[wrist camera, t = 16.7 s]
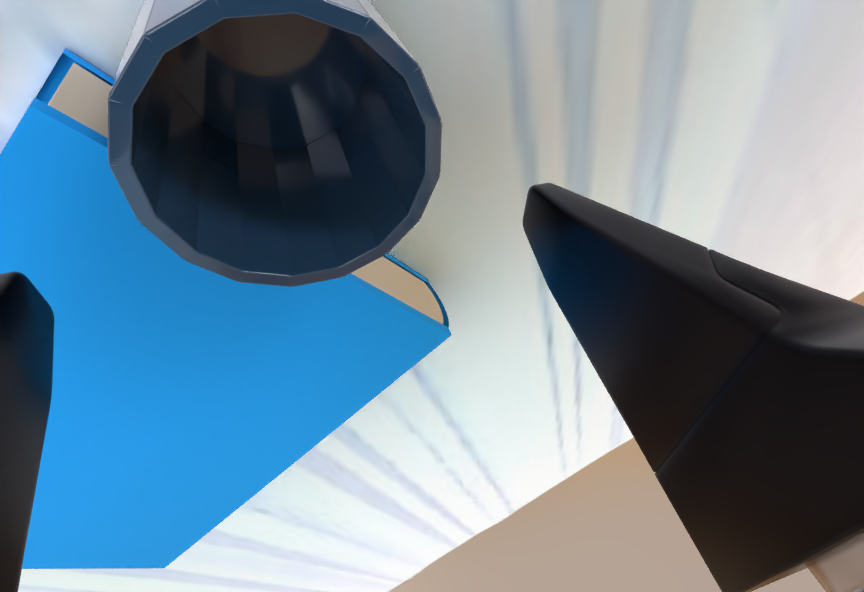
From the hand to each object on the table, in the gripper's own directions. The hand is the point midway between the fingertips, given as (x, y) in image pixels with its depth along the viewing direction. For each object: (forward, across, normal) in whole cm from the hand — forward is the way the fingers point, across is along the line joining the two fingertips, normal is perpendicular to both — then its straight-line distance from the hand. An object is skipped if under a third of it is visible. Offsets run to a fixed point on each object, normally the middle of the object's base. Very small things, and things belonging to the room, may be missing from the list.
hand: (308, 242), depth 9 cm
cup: (+10, 0, 0) cm, 10 cm away
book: (+10, +9, +14) cm, 19 cm away
